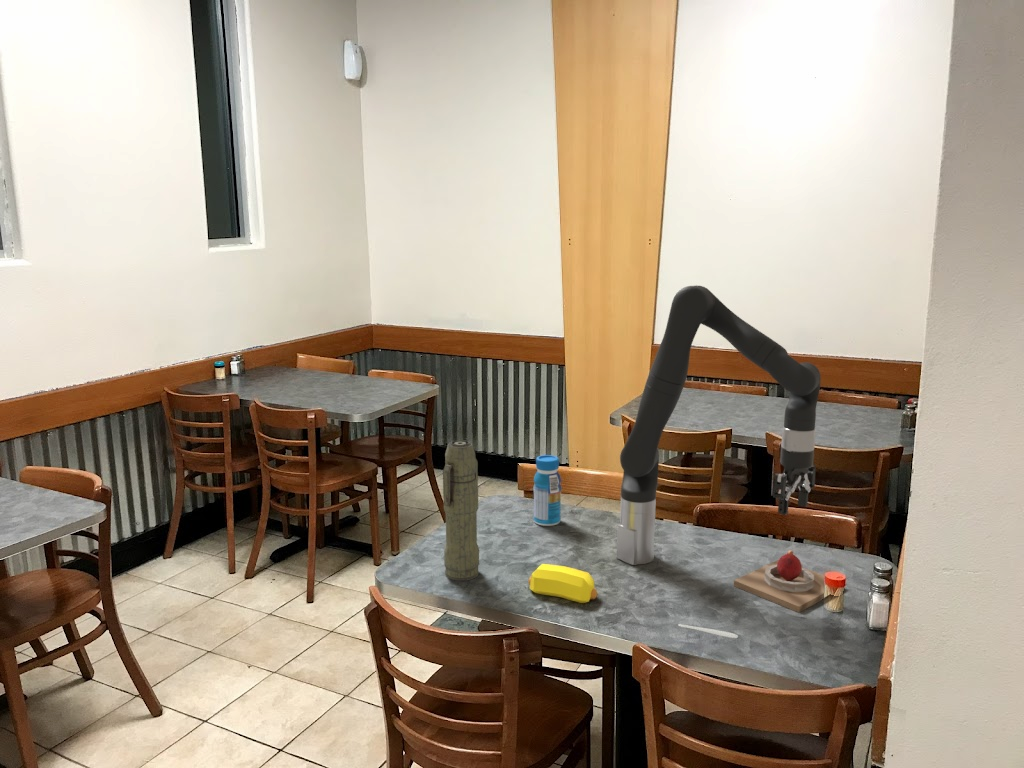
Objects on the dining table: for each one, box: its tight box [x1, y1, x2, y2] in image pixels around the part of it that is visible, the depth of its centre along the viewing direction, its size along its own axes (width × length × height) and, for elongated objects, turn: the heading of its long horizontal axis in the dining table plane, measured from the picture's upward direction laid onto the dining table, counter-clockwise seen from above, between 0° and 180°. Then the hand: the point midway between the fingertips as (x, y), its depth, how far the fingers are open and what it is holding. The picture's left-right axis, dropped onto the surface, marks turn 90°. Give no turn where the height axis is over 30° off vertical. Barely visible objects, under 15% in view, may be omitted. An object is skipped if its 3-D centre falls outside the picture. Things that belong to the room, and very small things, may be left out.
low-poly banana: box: [528, 563, 598, 604], centre depth 199 cm, size 18×7×8 cm
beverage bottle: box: [532, 454, 562, 527], centre depth 244 cm, size 8×8×20 cm
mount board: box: [733, 559, 825, 614], centre depth 203 cm, size 20×18×4 cm
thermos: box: [442, 439, 480, 582], centre depth 207 cm, size 9×12×35 cm
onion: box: [777, 550, 803, 581], centre depth 202 cm, size 6×6×8 cm
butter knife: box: [677, 623, 739, 639], centre depth 184 cm, size 1×27×3 cm
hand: (792, 510), depth 199 cm, fingers open, 8 cm apart
